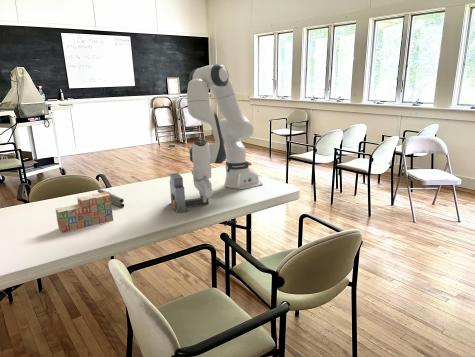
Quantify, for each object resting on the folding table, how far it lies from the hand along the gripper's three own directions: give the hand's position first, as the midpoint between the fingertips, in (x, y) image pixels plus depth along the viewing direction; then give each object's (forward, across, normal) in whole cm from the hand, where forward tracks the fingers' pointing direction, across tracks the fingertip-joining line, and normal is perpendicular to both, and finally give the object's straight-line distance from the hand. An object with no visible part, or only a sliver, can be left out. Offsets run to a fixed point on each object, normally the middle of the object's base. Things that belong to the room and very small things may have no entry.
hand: (203, 200), depth 176 cm
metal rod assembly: (+2, +24, +43) cm, 49 cm away
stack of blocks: (+2, -4, +54) cm, 54 cm away
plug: (+2, 0, +7) cm, 7 cm away
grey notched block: (+2, 0, +13) cm, 13 cm away
